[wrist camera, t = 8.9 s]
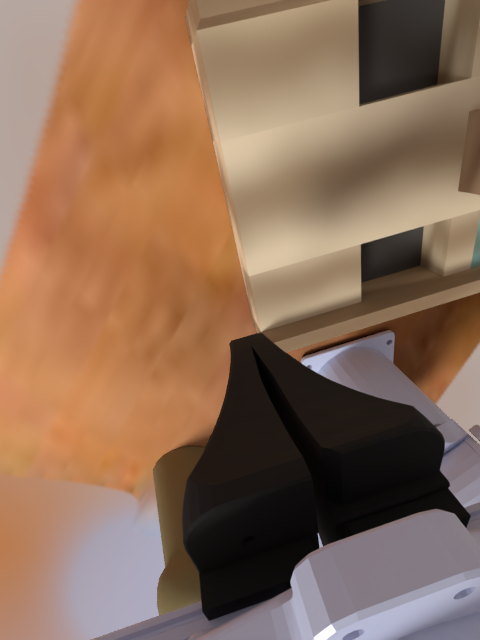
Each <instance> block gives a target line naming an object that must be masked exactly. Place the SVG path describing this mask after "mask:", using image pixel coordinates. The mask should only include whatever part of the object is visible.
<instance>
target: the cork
mask: <svg viewBox="0 0 480 640" xmlns="http://www.w3.org/2000/svg"><path fill="white" fill-rule="evenodd" d="M204 449H205V448H204V447H197V446H190V447H182V448H178V449H175V450H172V451H170V452H169V453H167V454H165V455H163V456H162V457H161V458H160V459H159V460H158V461H157V463H156V465H155V467H154V469H153V475H154V484H155V491H156V499H157V507H158V515H159V523H160V530H161V538H162V546H163V553H164V561H165V569H164V571H163V573H162V574H161V576H160V578H159V583H158V588H157V607H158V611H159V616H160V615H162V614H165V613H168V612H171V611H174V610H177V609H179V608H182V607H185V606H188V605H191V604H194V603H196V602H199V601H201V591H200V579H199V572H198V570H197V569H196V567H195V565H194V564H193V562H192V560H191V559H190V557H189V555H188V554H187V552H186V550H185V547H184V544H183V532H182V510H183V500H184V493H185V488H186V482H187V479H188V477H189V475H190V474H191V472H192V470H193V469H194V467H195V465H196V464H197V462H198V460H199V459H200V457H201V455H202V453H203V451H204Z"/></svg>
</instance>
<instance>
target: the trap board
mask: <svg viewBox="0 0 480 640" xmlns="http://www.w3.org/2000/svg"><path fill="white" fill-rule="evenodd" d="M185 19H186V24H187V28H188V32H189V37H190V41H191V46H192V50H193V55H194V59H195V64H196V68H197V73H198V77H199V82H200V86H201V90H202V95H203V99H204V104H205V108H206V113H207V117H208V122H209V126H210V131H211V135H212V139H213V144H214V148H215V153H216V157H217V162H218V166H219V171H220V175H221V180H222V184H223V189H224V193H225V197H226V202H227V206H228V211H229V215H230V220H231V224H232V229H233V233H234V238H235V242H236V247H237V251H238V255H239V260H240V264H241V269H242V273H243V278H244V282H245V287H246V291H247V296H248V300H249V304H250V309H251V313H252V318H253V322H254V326H255V328H256V330H257V332H258V333H263V334H264V335H265V336H266V337H268V338H269V339H270V340H271V341H272V342H273V343H274V344H276V345H277V346H278V347H279V348H281V349H282V350H283V351H284V352H289V351H293V350H296V349H299V348H302V347H306V346H309V345H312V344H315V343H318V342H322V341H325V340H328V339H331V338H335V337H338V336H341V335H344V334H347V333H351V332H354V331H357V330H360V329H364V328H367V327H370V326H373V325H377V324H380V323H383V322H386V321H389V320H393V319H396V318H399V317H402V316H406V315H409V314H412V313H415V312H418V311H422V310H425V309H428V308H431V307H435V306H438V305H441V304H444V303H448V302H451V301H454V300H457V299H460V298H464V297H467V296H470V295H473V294H477V293H480V195H477V194H471V193H466V192H460V191H458V187H459V180H460V173H461V166H462V159H463V152H464V145H465V138H466V131H467V124H468V117H469V112H470V111H473V110H477V109H480V0H189V1H188V6H187V11H186V16H185Z"/></svg>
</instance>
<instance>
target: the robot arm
mask: <svg viewBox="0 0 480 640" xmlns="http://www.w3.org/2000/svg"><path fill="white" fill-rule="evenodd" d="M388 340H389V341H388ZM387 341H388V342H387ZM394 341H395V334H394V333H393V332H392V331H391V330H387V331H383V332H380V333H377V334H374V335H371V336H367V337H364V338H361V339H358V340H355V341H351V342H348V343H345V344H342V345H339V346H335V347H332V348H329V349H326V350H323V351H319V352H316V353H313V354H310V355H307V356H304V357H303V358H302V359H301V363H300V362H299V361H297V360H296V359H294V358H293V357H291V356H290V355H289V354H287V353H286V352H284V351H283V350H282V349H281V348H279V347H278V346H277V345H276V344H274V343H273V342H272V341H271V340H270V339H269V338H268V337H266V336H265V335H264V334H263V333H257V334H254V335H250V336H247V337H243V338H240V339H236V340H233V341H231V342H230V344H229V345H230V350H231V364H230V373H229V380H228V385H227V390H226V394H225V398H224V402H223V405H222V409H221V412H220V415H219V417H218V420H217V423H216V425H215V428H214V430H213V433H212V435H211V437H210V439H209V441H208V443H207V445H206V447H205V449H204V451H203V453H202V455H201V457H200V459H199V460H198V462H197V464H196V465H195V467H194V469H193V470H192V472H191V474H190V475H189V477H188V479H187V482H186V488H185V493H184V500H183V510H182V532H183V544H184V547H185V550H186V552H187V554H188V555H189V557H190V559H191V560H192V562H193V564H194V565H195V567H196V569H197V570H198V572H199V579H200V591H201V601H199V602H196V603H194V604H191V605H188V606H185V607H182V608H179V609H177V610H174V611H171V612H168V613H165V614H162V615H160V616H157V617H154V618H151V619H149V620H145V621H143V622H140V623H137V624H134V625H131V626H129V627H126V628H123V629H120V630H117V631H114V632H112V633H109V634H106V635H103V636H101V637H98V638H95V639H92V640H480V445H479V444H478V443H477V442H476V441H475V440H474V439H473V438H472V437H471V436H469V434H467V433H466V432H465V431H464V430H463V429H462V428H461V427H460V426H459V425H458V424H457V423H456V422H455V421H454V420H453V419H450V418H449V417H448V416H447V415H446V414H445V413H444V412H443V411H442V410H441V409H440V408H439V407H438V406H437V405H436V404H435V403H434V402H433V401H432V400H431V399H430V398H429V397H427V396H426V395H425V394H424V393H423V392H422V391H421V390H420V389H419V388H418V387H417V386H416V385H415V384H414V383H413V382H412V381H411V380H410V379H409V378H408V377H407V376H406V375H405V374H404V373H403V372H402V371H401V370H400V369H399V368H398V367H396V366H395V365H394V364H393V358H394ZM308 365H310V366H309V367H307V366H308ZM469 431H470V432H471V433H472V434H473V435H474V436H475V437H476V438H477V439H478V440H479V441H480V426H479V425H475V426H473V427H472V428H471V429H469ZM317 533H319V536H320V538H321V541H322V544H323V547H321V548H319V541H318V534H317Z"/></svg>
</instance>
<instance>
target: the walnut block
mask: <svg viewBox="0 0 480 640" xmlns="http://www.w3.org/2000/svg"><path fill="white" fill-rule="evenodd" d="M458 191H460V192H466V193H471V194H477V195H480V109H477V110H473V111H470V112H469V117H468V124H467V131H466V138H465V145H464V152H463V159H462V166H461V173H460V180H459V187H458Z"/></svg>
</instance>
